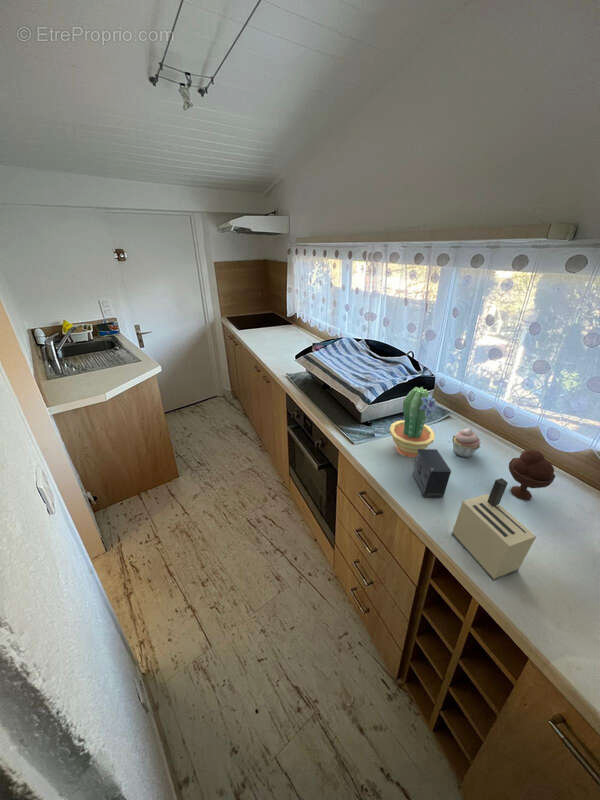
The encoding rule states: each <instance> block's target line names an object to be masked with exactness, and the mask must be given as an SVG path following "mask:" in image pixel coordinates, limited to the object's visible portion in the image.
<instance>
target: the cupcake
mask: <svg viewBox="0 0 600 800" xmlns="http://www.w3.org/2000/svg"><path fill="white" fill-rule="evenodd" d="M451 441H452V450H453V452H454V454H455V455H457V456H459V457H461V458H471V457H472V456H473V455H474V454H475V453H476V451H477V450H479V449H480V448H481V440H480V438H479V437H478V434H476V432H474V431H473V430H472V428H464V429H462V430H459V431H457V433H456V434H455V435H452V439H451Z"/></svg>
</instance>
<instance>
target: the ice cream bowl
mask: <svg viewBox="0 0 600 800" xmlns="http://www.w3.org/2000/svg"><path fill="white" fill-rule="evenodd" d="M508 471H509V473H510V475H511V477H512V478H513V479H514V481H515V482H517V483H518V484H520V486H519V485H515V486H514V485H513V486H512V487H510V489H509V491H510V493H511V495H512V496H514V497H515V498H517V499H519V500H521V501H531V500H532V498H533V494H532V493H531V491H530V490H528V488H530V489H541V488H548V487H549V486H550V485H551V484H552V483H553V482H554V481H555V478H556V474H555V468H554V465H553V463H551V462H550V461H549V460H547V459H546V458H545V456H544V454H543V453H542V452H541V451H540V450H538V449H534V448H528V449H524V450H523V451H522V452H521V454H520V455H519V457H513V458H512V459H511V460H510V461H509V463H508Z"/></svg>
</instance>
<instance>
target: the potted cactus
mask: <svg viewBox="0 0 600 800" xmlns="http://www.w3.org/2000/svg"><path fill="white" fill-rule="evenodd" d="M436 402H437V401H436V400H435V398H433V396H432V395H431V394H430V392H429V391H428V389H427V388H425V389H424V387H423V386H420V387H418V386H415V387H413V389H411V390H410V391H409V392H408V393H407V395H406V396H405V397H404V398H403V399H402V413H403V415H404V416H403V418H404V419H403V420H397V421H395V422H393V423H392V424H391V425H390V427H389V434H390V435H391V437H392V440H393V442H394V444H395V445H396V446H395V449H396V451H397V452H398V453H399V454H400V455H402V456H403V457H408V458H417V453H418V449H428V447H429V445H431V444H433V442H434V441H435V437H436V433H435V431H434V430H433V429H432V428H431V427H430V426H429V425H427V424H425V423H426V419H427V418H428V416H429V415H430V414H435V412H436V409H437V403H436Z"/></svg>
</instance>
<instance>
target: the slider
mask: <svg viewBox="0 0 600 800" xmlns="http://www.w3.org/2000/svg"><path fill="white" fill-rule="evenodd" d="M508 483H509V482H508V481H506V479H504V478H503V477H502V478H498V479H495V480H494V483H493V486H492V487H491V491H490V493H489V498H488V501H487V502H488V503H489V504H490V505H492V506H495V505H500V503H501V501H502V498H503V495H504V494H505V491H506V488H507V487H508Z"/></svg>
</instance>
